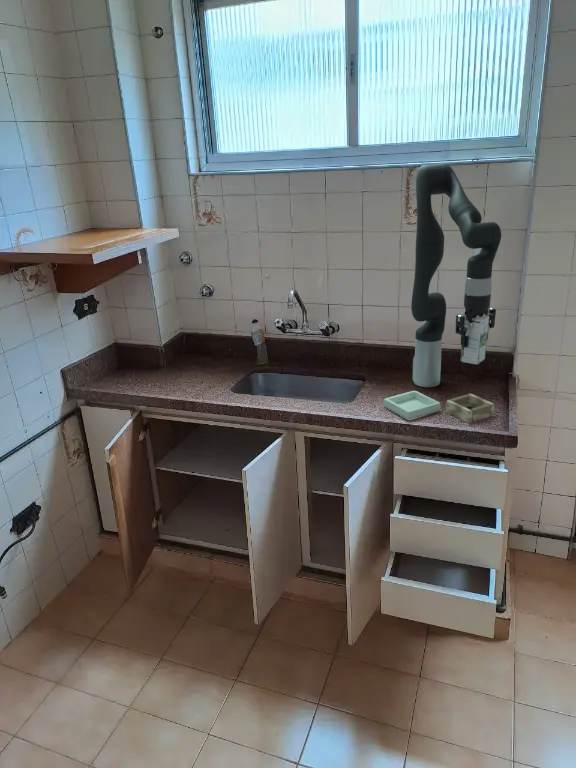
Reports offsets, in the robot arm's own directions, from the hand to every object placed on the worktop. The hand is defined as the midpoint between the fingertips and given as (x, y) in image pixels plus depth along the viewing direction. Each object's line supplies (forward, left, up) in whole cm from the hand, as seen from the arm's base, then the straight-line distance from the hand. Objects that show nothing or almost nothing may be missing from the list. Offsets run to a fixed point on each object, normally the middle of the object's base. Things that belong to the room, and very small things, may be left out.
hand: (473, 344), depth 179 cm
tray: (-13, -13, -23) cm, 30 cm away
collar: (0, 0, -23) cm, 23 cm away
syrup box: (0, 0, -6) cm, 6 cm away
